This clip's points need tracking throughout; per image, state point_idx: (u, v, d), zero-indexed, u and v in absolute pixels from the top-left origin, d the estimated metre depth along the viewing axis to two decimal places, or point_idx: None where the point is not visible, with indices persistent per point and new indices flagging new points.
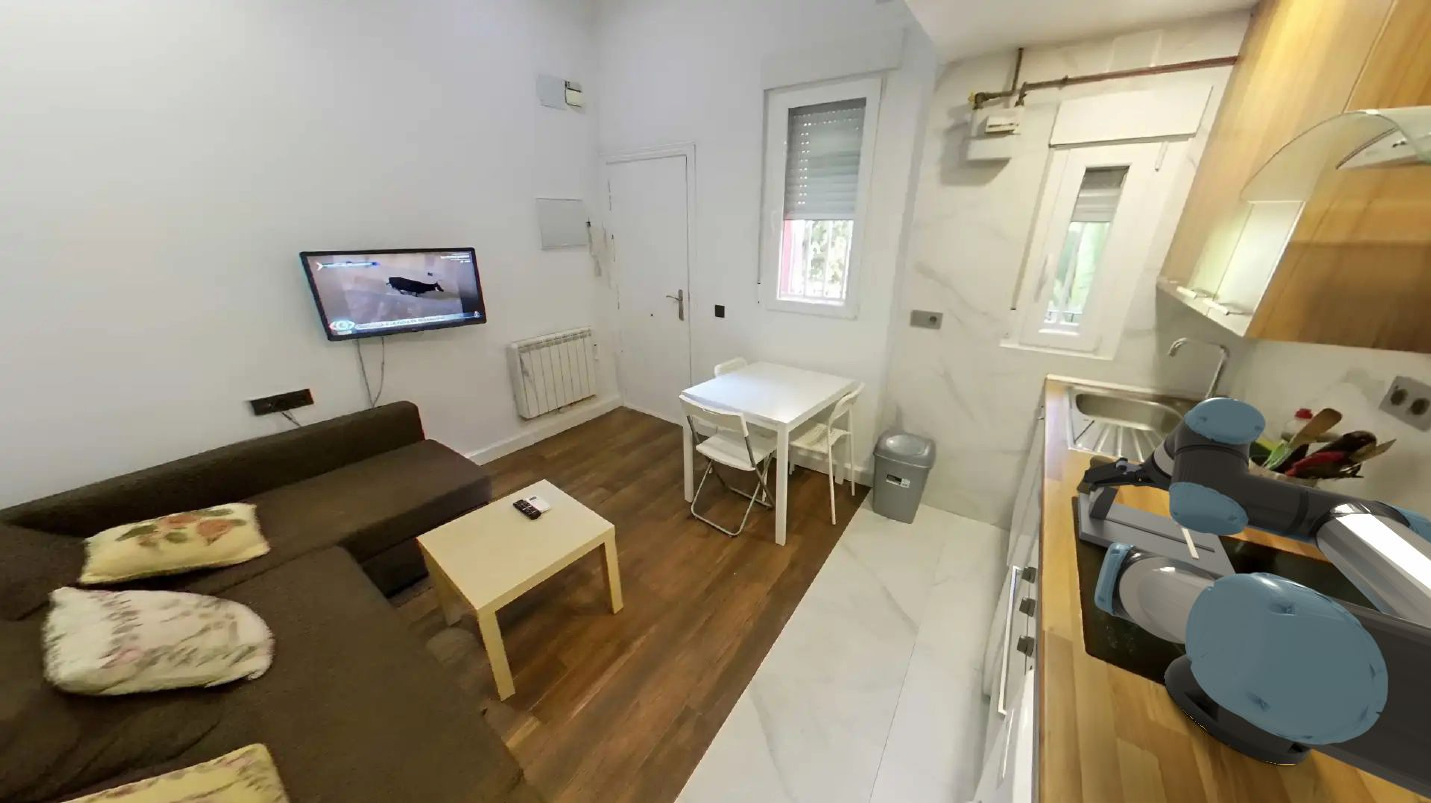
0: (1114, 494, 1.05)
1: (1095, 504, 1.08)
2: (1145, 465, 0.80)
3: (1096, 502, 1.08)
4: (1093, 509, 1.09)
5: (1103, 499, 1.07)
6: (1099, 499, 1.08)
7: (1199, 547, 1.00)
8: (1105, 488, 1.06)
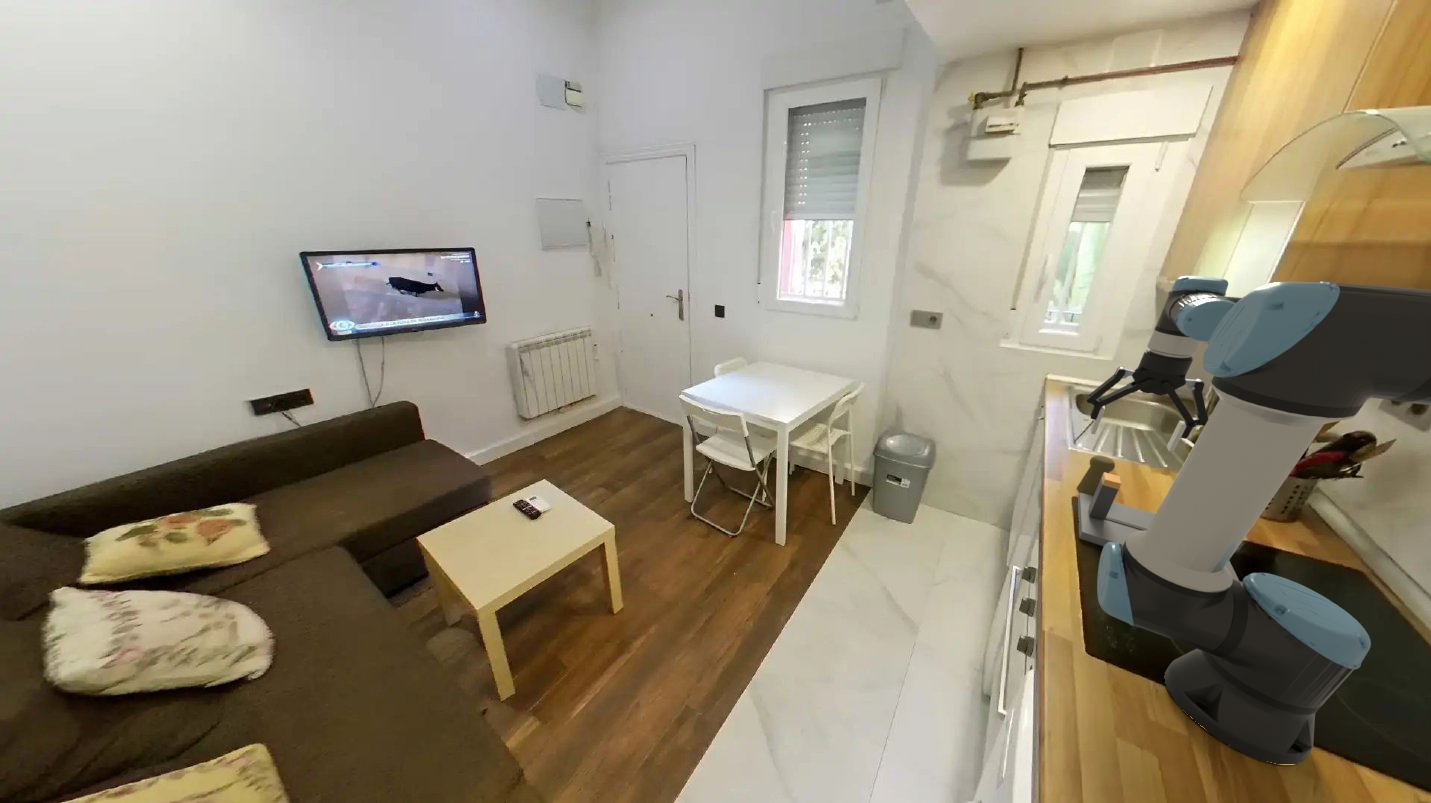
0: (1114, 494, 1.05)
1: (1095, 504, 1.08)
2: (1140, 363, 0.96)
3: (1096, 502, 1.08)
4: (1093, 509, 1.09)
5: (1103, 499, 1.07)
6: (1099, 499, 1.08)
7: None
8: (1105, 488, 1.06)
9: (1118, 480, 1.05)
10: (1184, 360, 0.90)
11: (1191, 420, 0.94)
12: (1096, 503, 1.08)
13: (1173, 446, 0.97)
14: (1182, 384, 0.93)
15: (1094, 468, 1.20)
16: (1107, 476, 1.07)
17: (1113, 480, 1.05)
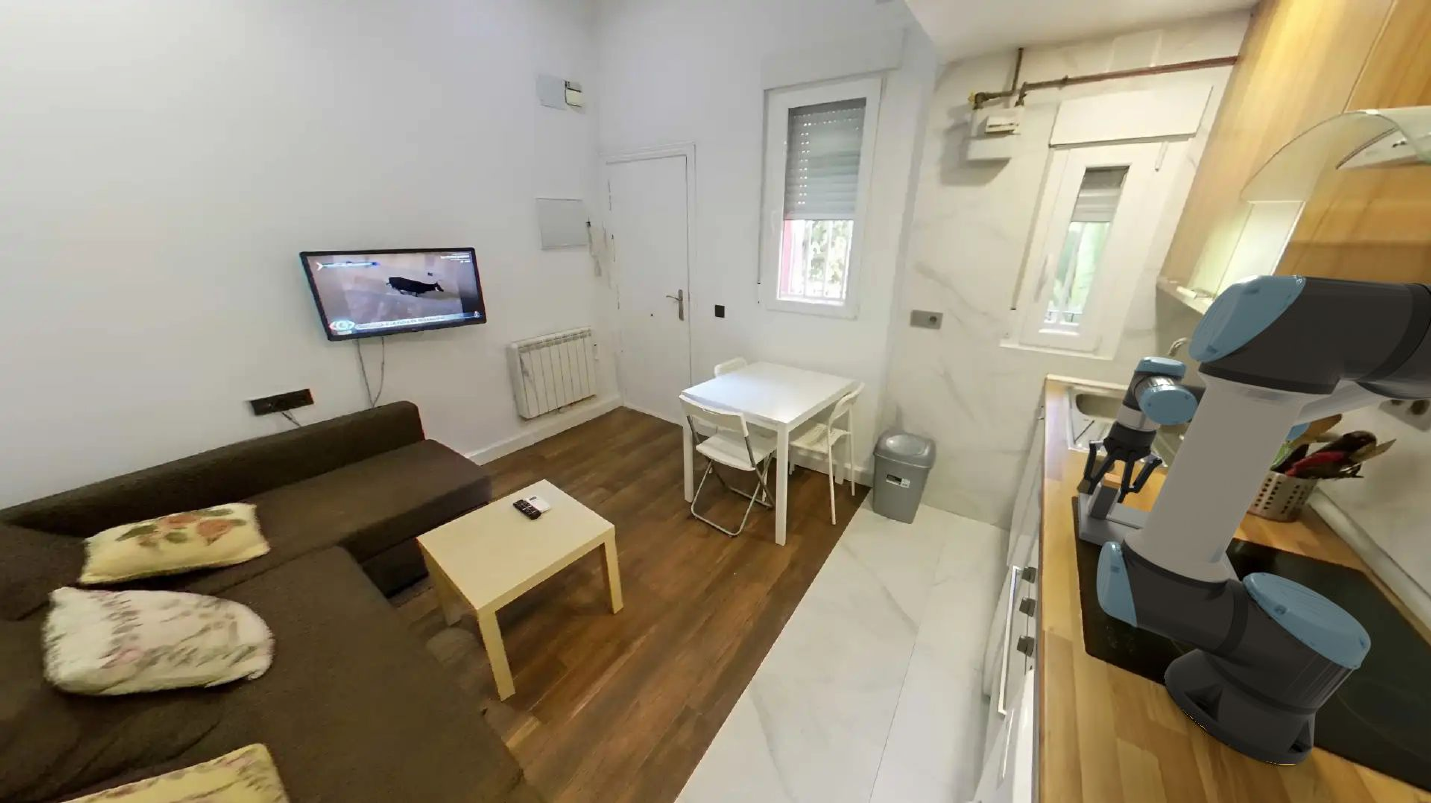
0: (1114, 494, 1.05)
1: (1095, 504, 1.08)
2: (1109, 433, 1.03)
3: (1096, 502, 1.08)
4: (1093, 509, 1.09)
5: (1103, 499, 1.07)
6: (1099, 499, 1.08)
7: None
8: (1105, 488, 1.06)
9: (1118, 480, 1.05)
10: (1148, 433, 0.97)
11: (1127, 488, 1.04)
12: (1096, 503, 1.08)
13: (1110, 509, 1.07)
14: (1147, 454, 1.00)
15: (1094, 468, 1.20)
16: (1107, 476, 1.07)
17: (1113, 480, 1.05)
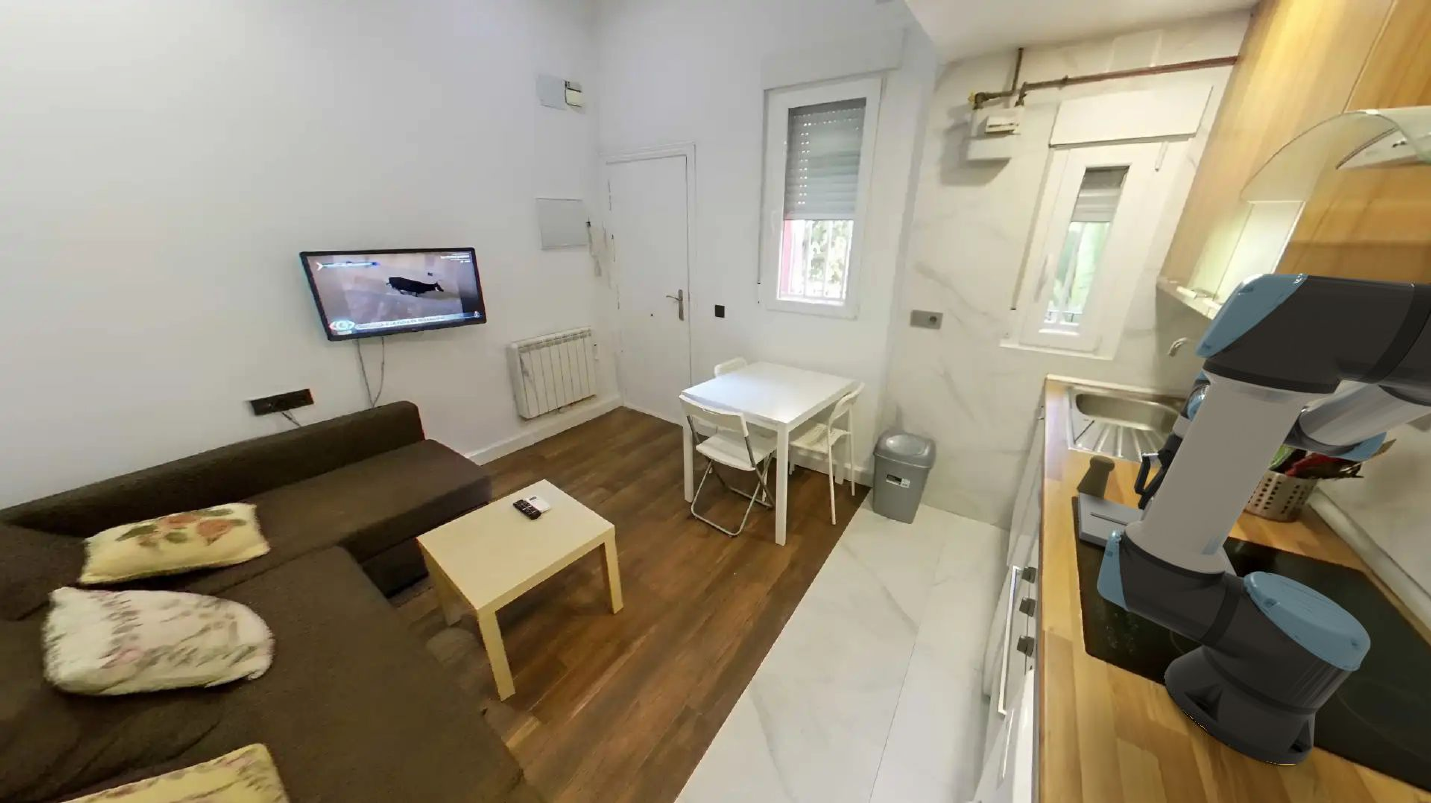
0: None
1: None
2: (1165, 445, 0.98)
3: None
4: None
5: None
6: None
7: None
8: None
9: None
10: None
11: None
12: None
13: None
14: None
15: (1094, 468, 1.20)
16: None
17: None
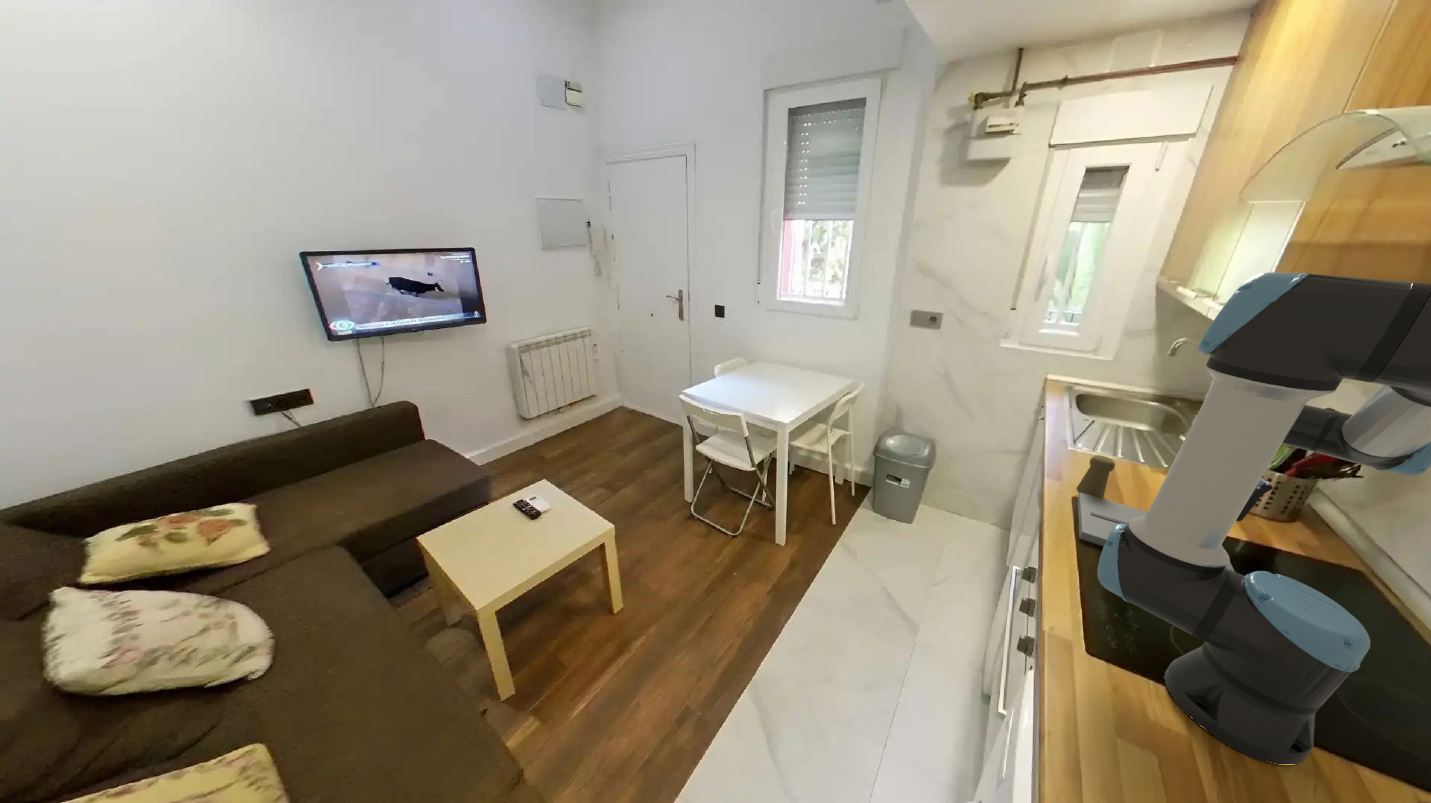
0: None
1: None
2: None
3: None
4: None
5: None
6: None
7: None
8: None
9: None
10: None
11: None
12: None
13: None
14: None
15: (1094, 468, 1.20)
16: None
17: None
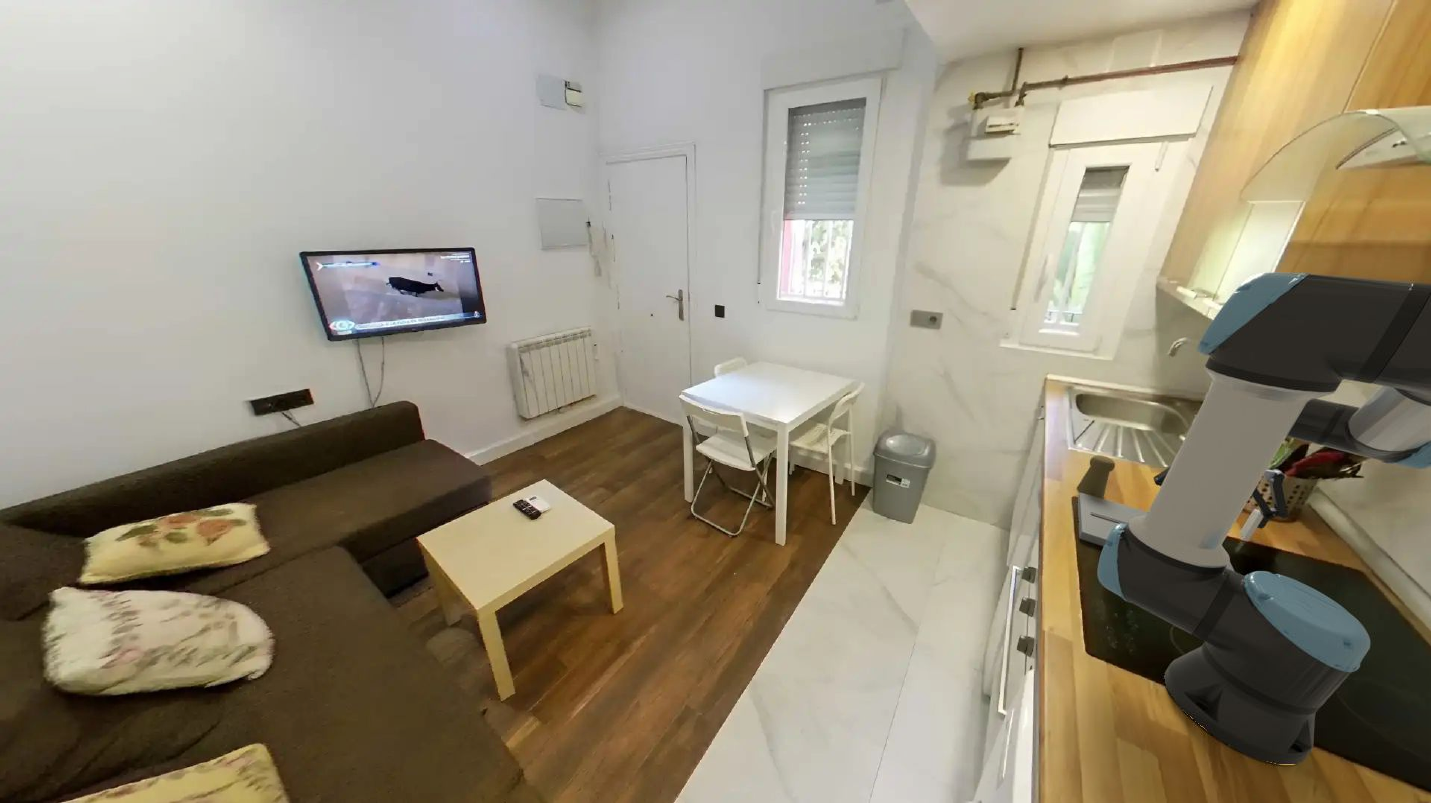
0: None
1: None
2: None
3: None
4: None
5: None
6: None
7: None
8: None
9: None
10: None
11: (1269, 511, 0.91)
12: None
13: (1248, 535, 0.94)
14: None
15: (1094, 468, 1.20)
16: None
17: None
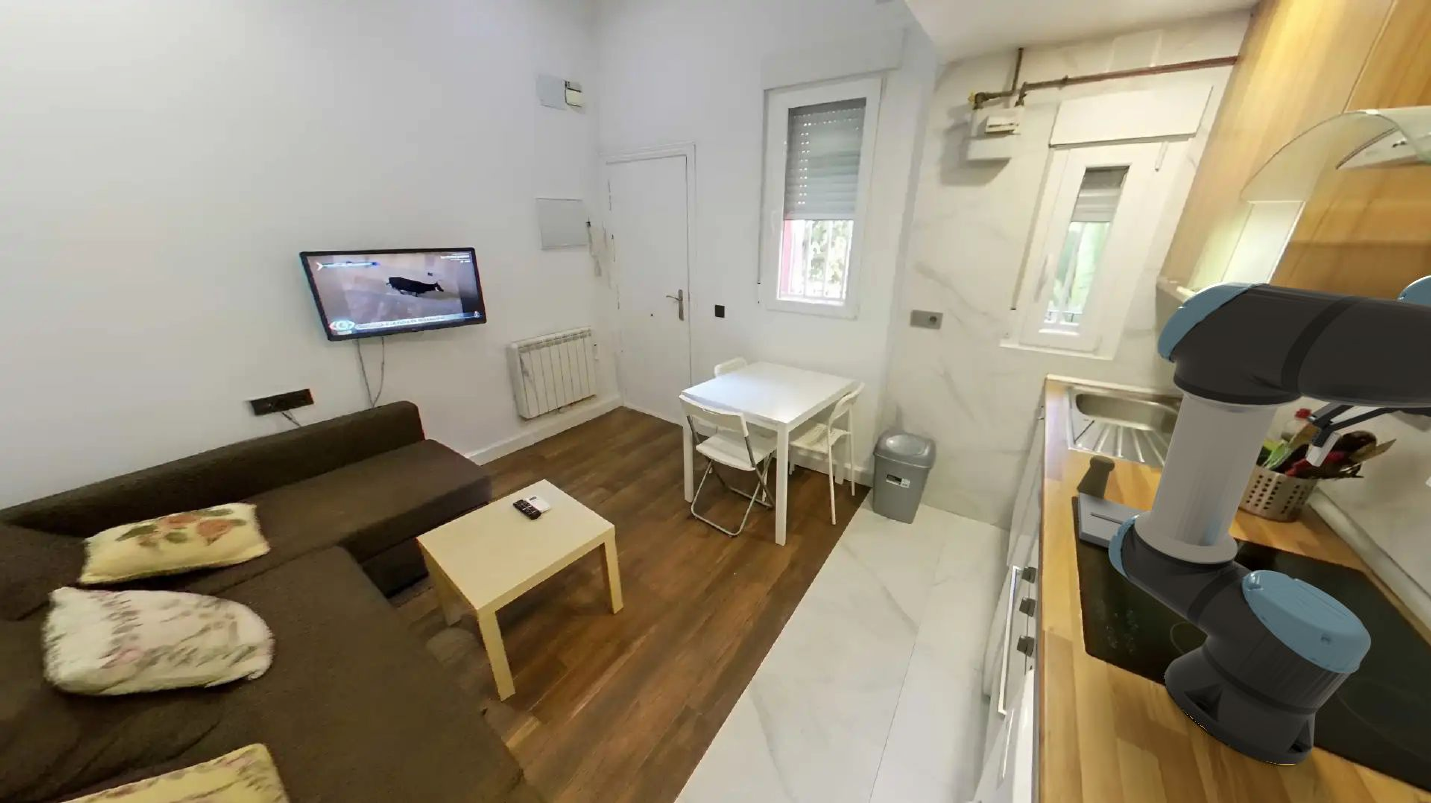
0: None
1: None
2: None
3: None
4: None
5: None
6: None
7: None
8: None
9: None
10: None
11: None
12: None
13: None
14: None
15: (1094, 468, 1.20)
16: None
17: None
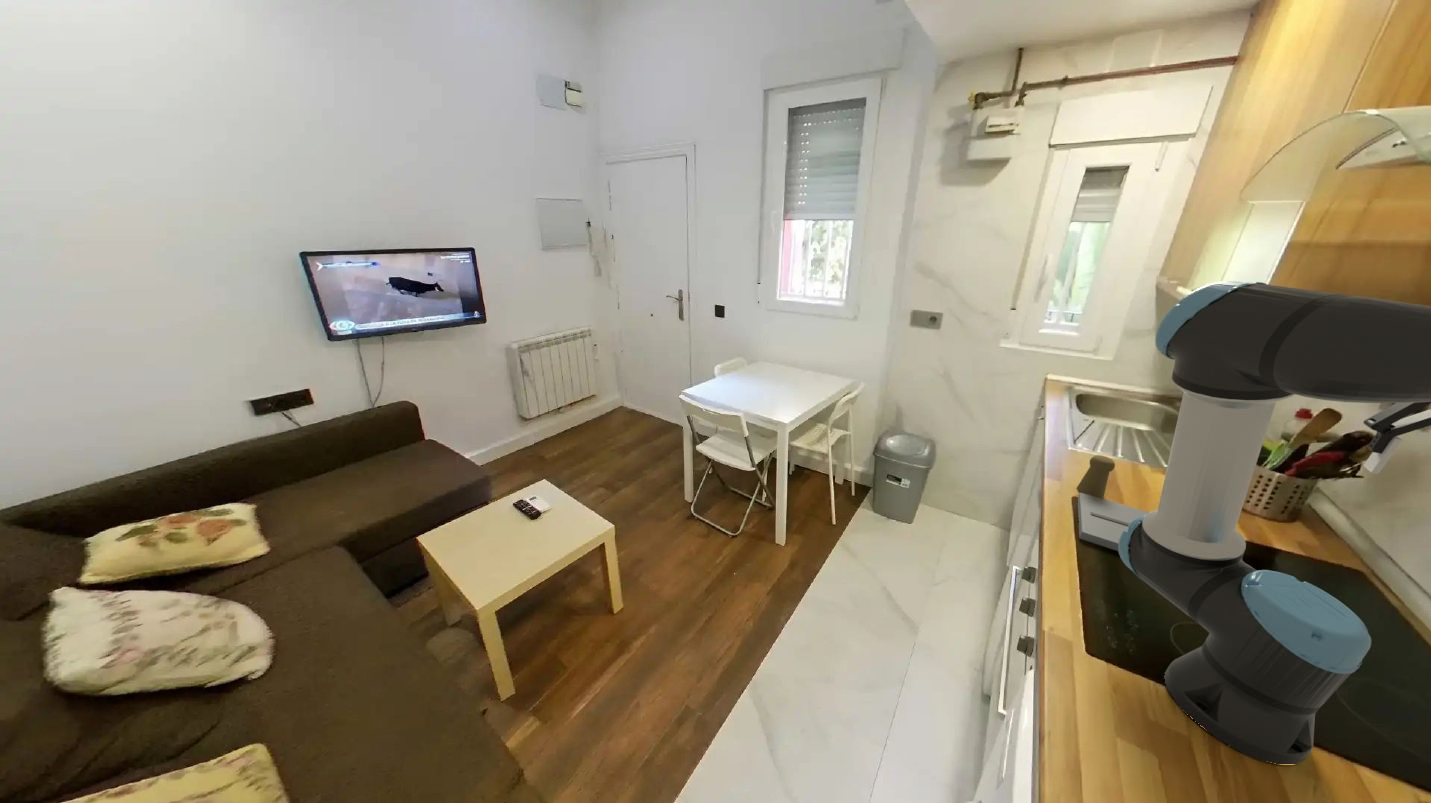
0: None
1: None
2: None
3: None
4: None
5: None
6: None
7: None
8: None
9: None
10: None
11: None
12: None
13: None
14: None
15: (1094, 468, 1.20)
16: None
17: None
